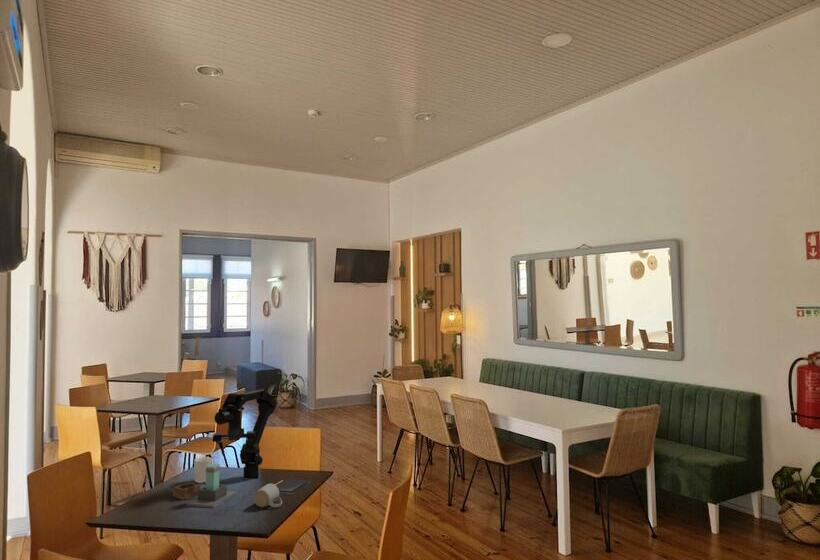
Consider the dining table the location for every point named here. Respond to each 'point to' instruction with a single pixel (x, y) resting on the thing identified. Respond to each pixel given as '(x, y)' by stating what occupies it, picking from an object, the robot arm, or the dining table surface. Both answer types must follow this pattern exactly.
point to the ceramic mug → (267, 496)
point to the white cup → (201, 468)
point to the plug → (212, 476)
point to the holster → (186, 490)
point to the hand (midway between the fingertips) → (234, 455)
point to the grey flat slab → (290, 486)
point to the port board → (211, 497)
